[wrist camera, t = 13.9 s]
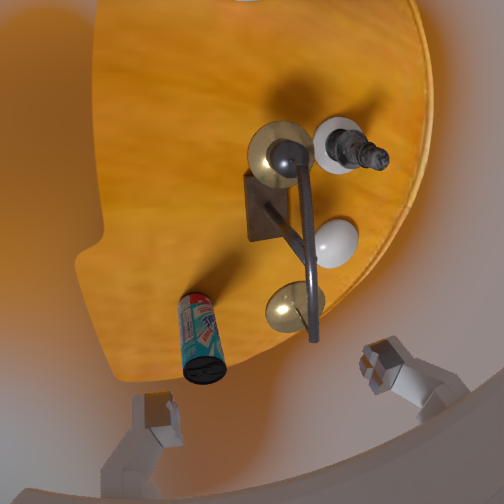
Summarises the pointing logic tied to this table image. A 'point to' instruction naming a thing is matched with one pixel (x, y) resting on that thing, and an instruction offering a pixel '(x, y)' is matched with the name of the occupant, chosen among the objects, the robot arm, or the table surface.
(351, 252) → the dish high side
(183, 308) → the beverage can
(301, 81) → the table surface
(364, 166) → the chess piece
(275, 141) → the balance
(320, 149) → the dish low side
